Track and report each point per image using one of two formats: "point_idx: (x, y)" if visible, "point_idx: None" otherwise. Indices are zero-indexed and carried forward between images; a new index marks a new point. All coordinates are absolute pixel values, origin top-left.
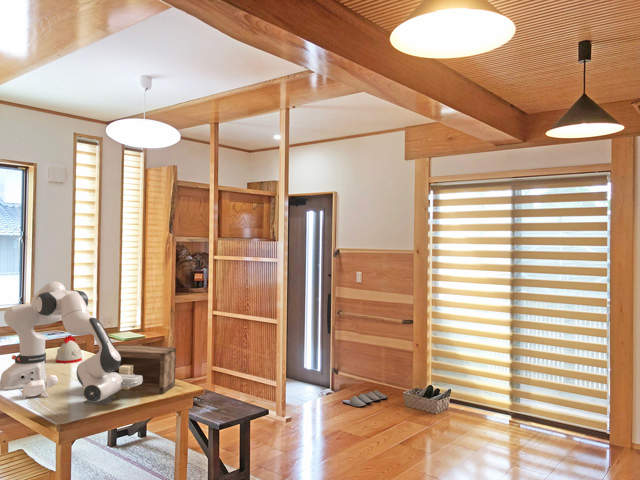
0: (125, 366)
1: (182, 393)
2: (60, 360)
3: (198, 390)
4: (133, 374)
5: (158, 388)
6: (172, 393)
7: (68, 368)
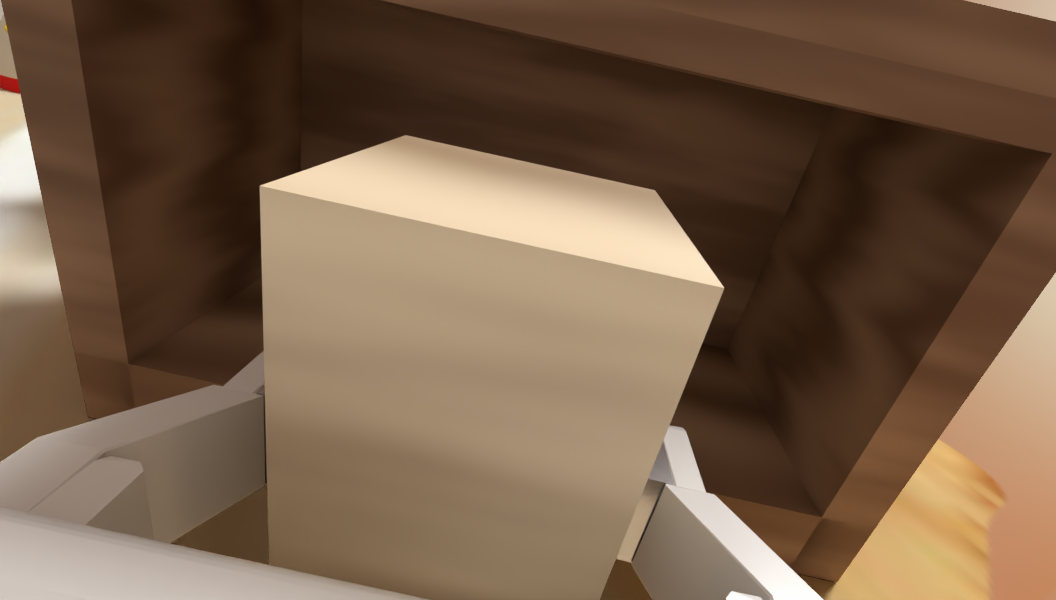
0: (513, 204)
1: (988, 566)
2: (8, 77)
3: (1001, 488)
4: (694, 459)
5: (803, 525)
6: (901, 563)
7: (16, 118)
